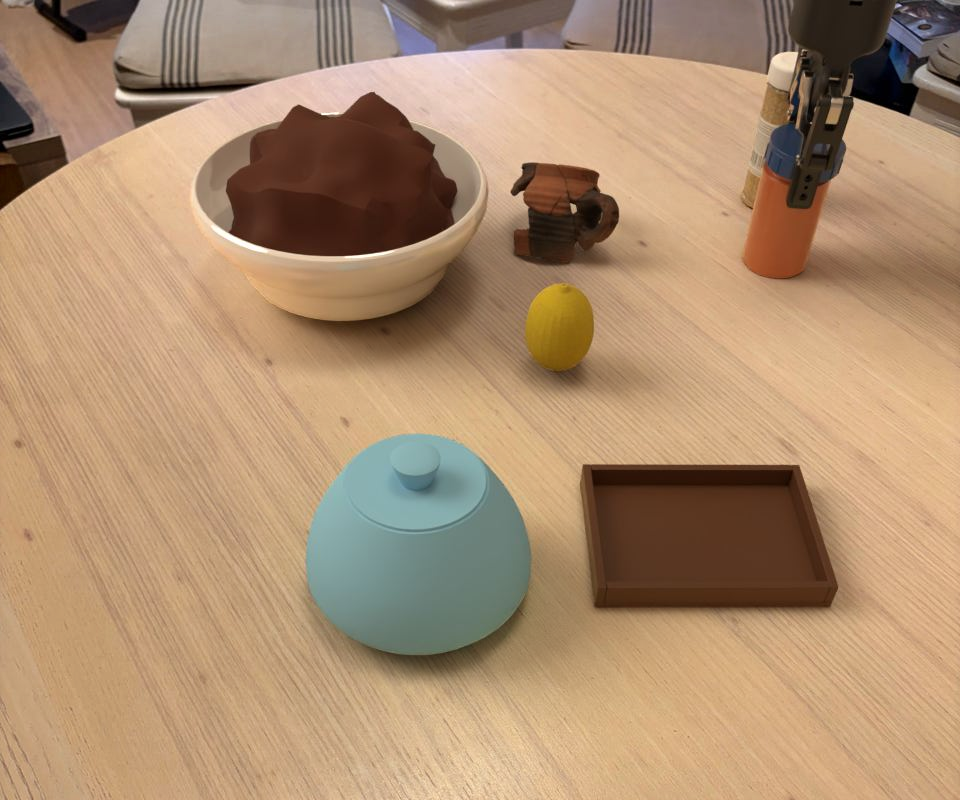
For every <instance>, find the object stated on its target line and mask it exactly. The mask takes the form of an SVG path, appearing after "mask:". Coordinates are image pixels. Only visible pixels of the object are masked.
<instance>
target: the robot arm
mask: <svg viewBox="0 0 960 800" xmlns="http://www.w3.org/2000/svg"><path fill="white" fill-rule="evenodd" d="M793 1H794V2H793V6H792V9H791V14H790V17H789V22H788V25H787V26H788V27H787V32H788V35H789V37H790V40H791V41H792V42H793V43H794V44H796V45H797V46H798V51H797V52H798V56H797V60H796V64H795V68H794V73H793V77H792V81H791V85H790V90H789V93H788V94H787V99H788V100H787V104H791V105H790V107H789V110H788V111H787V121H791V122H788V124H793V123H796V128H795V130H796V133H797V134H798V135H799V136H800V141H799V146H798V152H797V155H796V158H795V161H796V163H795V167H794V170H793V174H792V178H791V181H790V185H789V189H788V192H787V196H786V204H787V207H789V208H794V209H809V208H810V207H811V206H812V204H813V200H814V197H815V194H816V190H817V187H818V184H819V180H820V177H821V173H822V170H824V171H831V170H832V168H833V166H834V164H835V159H836V156H837V153H838V150H839V147H840V144H841V141H842V140H843V138H844V134H845V132H846V128H847V125H848V123H849V119H850V116H851V113H852V110H853V109H854V105H855V102H854V96H850V95H851V94H852V89H853V84H854V78H855V77H854V76H855V75H854V73H850V72H851V64H852V63H853V62H854V61H855V60H857V59H858V58H860V57H863V56H865V57H866V56H869V55H871V54H874V53H875V52H877V51H878V50H879V49H880V48H881V47H882V46H883V45H884V43H885V40H886V37H887V34H888V30H889V28H890V24H891V21H892V17H893V15H894V12H895V9H896V6H897V2H898V0H793ZM816 144H823V146H822V151H813V149H814V146H815V145H816Z"/></svg>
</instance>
